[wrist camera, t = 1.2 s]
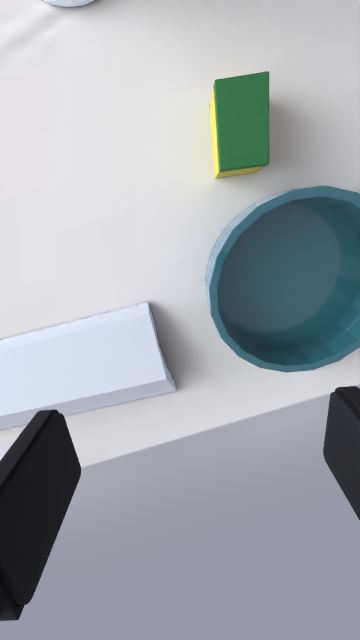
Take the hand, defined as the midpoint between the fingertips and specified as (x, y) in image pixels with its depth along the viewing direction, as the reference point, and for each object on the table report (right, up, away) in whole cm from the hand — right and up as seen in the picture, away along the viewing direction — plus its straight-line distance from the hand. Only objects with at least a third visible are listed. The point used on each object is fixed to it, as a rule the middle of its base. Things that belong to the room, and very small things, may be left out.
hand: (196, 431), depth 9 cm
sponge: (+4, +21, +15) cm, 26 cm away
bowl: (+11, +8, +20) cm, 24 cm away
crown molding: (-17, -3, +25) cm, 30 cm away
